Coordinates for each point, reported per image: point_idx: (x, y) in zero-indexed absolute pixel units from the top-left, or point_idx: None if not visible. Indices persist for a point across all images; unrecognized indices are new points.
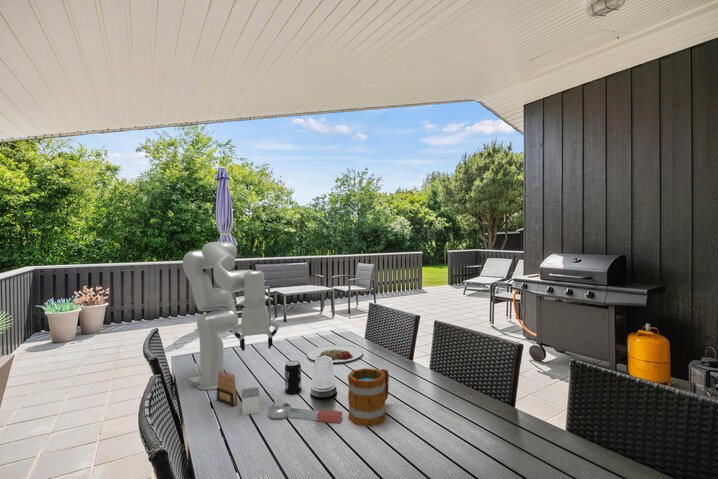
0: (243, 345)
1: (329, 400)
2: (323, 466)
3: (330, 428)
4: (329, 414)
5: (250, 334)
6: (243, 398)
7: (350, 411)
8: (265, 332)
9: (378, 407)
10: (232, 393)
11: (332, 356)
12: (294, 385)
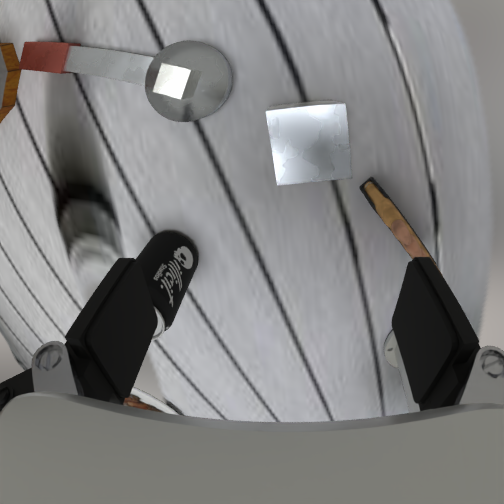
0: (433, 297)
1: (63, 174)
2: None
3: (55, 13)
4: (42, 47)
5: (384, 427)
6: (336, 103)
7: (3, 66)
8: (36, 405)
9: None
10: (386, 194)
11: (129, 404)
12: (153, 245)
